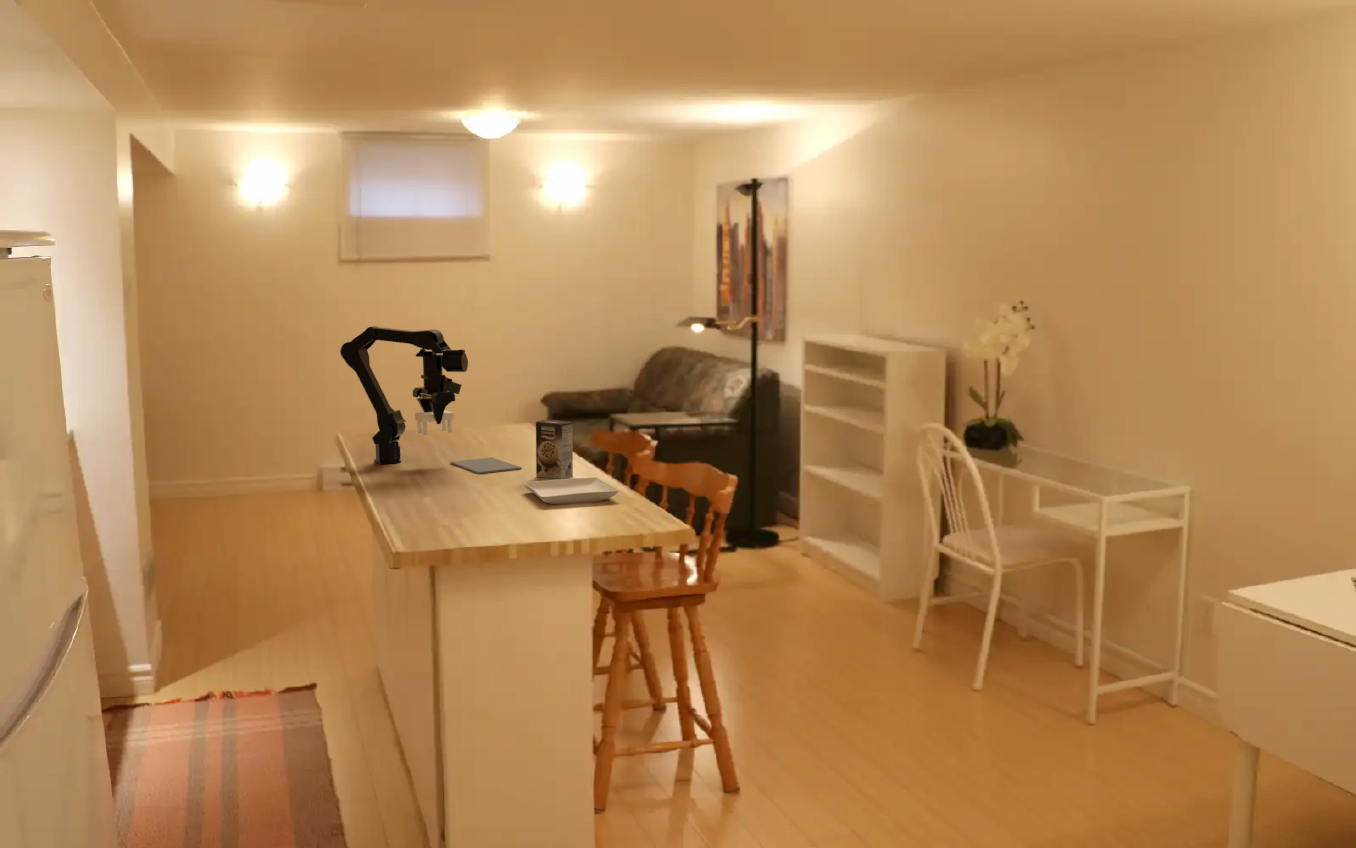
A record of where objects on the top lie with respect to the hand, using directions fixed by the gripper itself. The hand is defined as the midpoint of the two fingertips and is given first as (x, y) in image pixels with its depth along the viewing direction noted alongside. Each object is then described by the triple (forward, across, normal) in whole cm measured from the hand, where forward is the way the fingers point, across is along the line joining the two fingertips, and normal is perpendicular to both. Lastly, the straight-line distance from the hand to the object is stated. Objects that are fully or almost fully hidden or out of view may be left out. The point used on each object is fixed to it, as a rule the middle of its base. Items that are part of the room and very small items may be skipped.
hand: (434, 422), depth 363 cm
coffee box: (+13, -38, -21) cm, 45 cm away
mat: (+13, -12, -11) cm, 21 cm away
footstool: (+3, 0, 0) cm, 3 cm away
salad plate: (+14, -64, -10) cm, 67 cm away
